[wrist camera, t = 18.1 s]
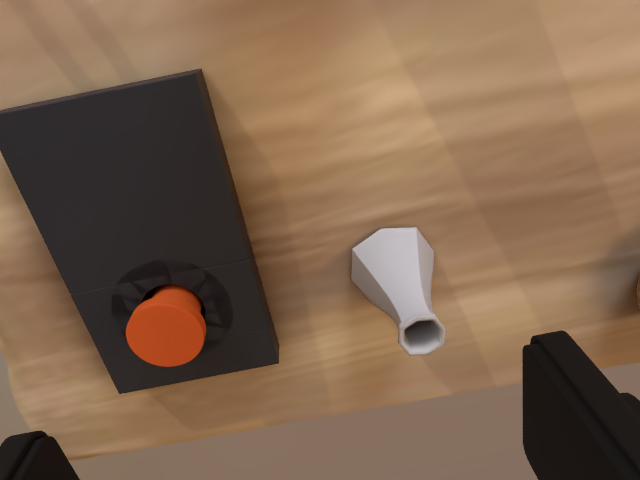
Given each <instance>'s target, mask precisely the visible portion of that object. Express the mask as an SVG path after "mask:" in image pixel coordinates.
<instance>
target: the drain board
mask: <svg viewBox="0 0 640 480" xmlns="http://www.w3.org/2000/svg"><path fill="white" fill-rule="evenodd" d="M0 151H1V153H2V155H3V157H4V159H5V161H6V163H7V165H8V167H9V169H10V171H11V173H12V176H13V178H14V180H15V182H16V184H17V186H18V188H19V190H20V192H21V194H22V196H23V198H24V200H25V202H26V204H27V206H28V208H29V210H30V212H31V214H32V216H33V218H34V220H35V222H36V225H37V227H38V229H39V231H40V233H41V235H42V237H43V239H44V241H45V243H46V245H47V247H48V249H49V251H50V253H51V255H52V257H53V259H54V261H55V263H56V265H57V267H58V269H59V272H60V274H61V276H62V278H63V280H64V282H65V284H66V286H67V288H68V290H69V292H70V294H71V296H72V298H73V300H74V302H75V305H76V307H77V309H78V311H79V313H80V315H81V317H82V319H83V321H84V323H85V325H86V327H87V329H88V331H89V333H90V335H91V337H92V339H93V341H94V343H95V345H96V347H97V349H98V352H99V354H100V356H101V358H102V360H103V362H104V364H105V366H106V368H107V370H108V372H109V374H110V376H111V378H112V380H113V382H114V384H115V386H116V388H117V390H118V392H119V394H122V393H128V392H133V391H138V390H143V389H148V388H154V387H159V386H164V385H169V384H174V383H179V382H185V381H190V380H195V379H200V378H205V377H211V376H216V375H221V374H226V373H231V372H237V371H242V370H247V369H252V368H257V367H263V366H268V365H273V364H278V363H279V343H278V339H277V336H276V332H275V329H274V325H273V321H272V318H271V314H270V312H269V307H268V304H267V300H266V297H265V293H264V290H263V286H262V282H261V279H260V275H259V272H258V268H257V265H256V261H255V257H254V254H253V250H252V247H251V243H250V239H249V236H248V232H247V229H246V225H245V222H244V218H243V215H242V211H241V207H240V204H239V200H238V197H237V193H236V190H235V186H234V182H233V179H232V175H231V172H230V168H229V165H228V161H227V157H226V154H225V150H224V147H223V143H222V140H221V136H220V132H219V129H218V125H217V122H216V118H215V115H214V111H213V107H212V104H211V100H210V97H209V93H208V90H207V86H206V83H205V79H204V75H203V72H202V69H197V70H192V71H187V72H182V73H178V74H173V75H168V76H163V77H158V78H153V79H149V80H144V81H139V82H134V83H129V84H124V85H120V86H115V87H110V88H105V89H100V90H95V91H91V92H86V93H81V94H76V95H71V96H66V97H61V98H57V99H52V100H47V101H42V102H37V103H32V104H28V105H23V106H18V107H13V108H8V109H4V110H1V111H0ZM166 284H172V285H179V286H184V287H186V288H188V289H190V290H192V291H194V292H195V294H196V295H197V296H198V297H199V298H200V299H201V300H202V302H203V305H204V307H205V311H204V312H203V313H202V314H201V315H202V316H203V318H204V321H205V324H206V335H205V339H204V343H203V347H202V349H201V351H200V352H199V354H198V355H197V356H196V357H195V358H194V359H192V360H191V361H189V362H187V363H185V364H182V365H179V366H173V367H164V366H157V365H154V364H151V363H148V362H146V361H144V360H143V359H141V358H140V357H138V356H137V355H136V354H135V353H134V352H133V351H132V349H131V348H130V346H129V344H128V342H127V338H126V327H127V324H128V322H129V320H130V318H131V316H132V314H133V312H134V310H135V309H136V308H137V307H138V306H139V305H140V304H141V303H143V302H144V301H146V300H148V299H149V298H148V292H149V291H150V290H152V289H153V288H155V287H156V286H161V285H166Z"/></svg>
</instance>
